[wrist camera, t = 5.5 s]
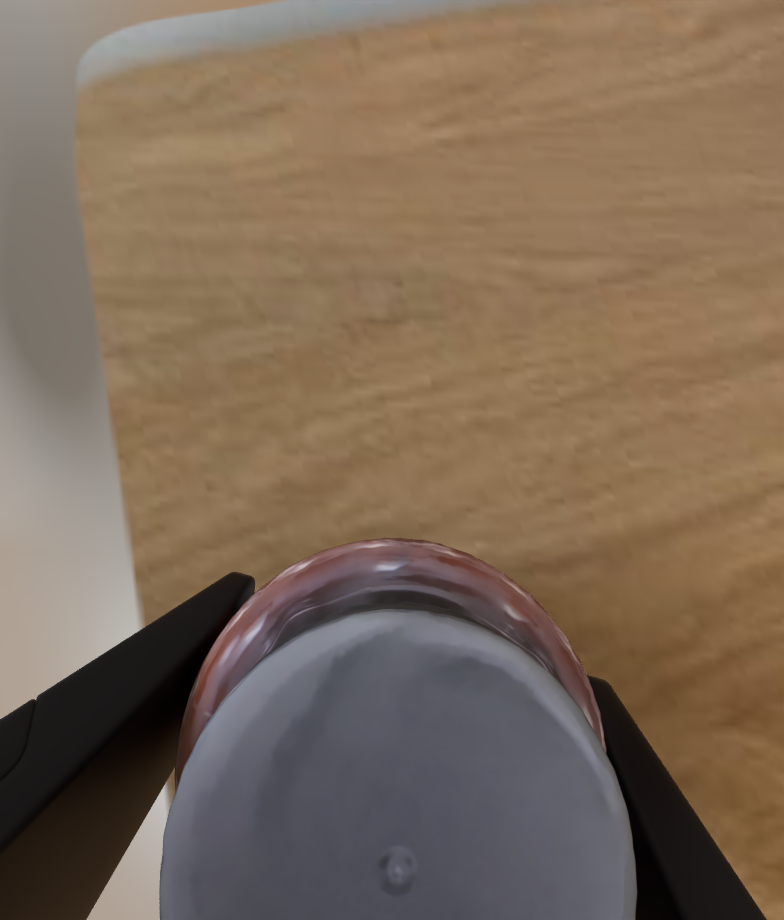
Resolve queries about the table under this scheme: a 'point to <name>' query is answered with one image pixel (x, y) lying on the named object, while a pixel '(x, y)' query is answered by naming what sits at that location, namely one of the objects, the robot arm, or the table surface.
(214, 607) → the robot arm
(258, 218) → the table surface
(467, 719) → the supplement bottle
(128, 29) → the table surface
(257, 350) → the table surface
